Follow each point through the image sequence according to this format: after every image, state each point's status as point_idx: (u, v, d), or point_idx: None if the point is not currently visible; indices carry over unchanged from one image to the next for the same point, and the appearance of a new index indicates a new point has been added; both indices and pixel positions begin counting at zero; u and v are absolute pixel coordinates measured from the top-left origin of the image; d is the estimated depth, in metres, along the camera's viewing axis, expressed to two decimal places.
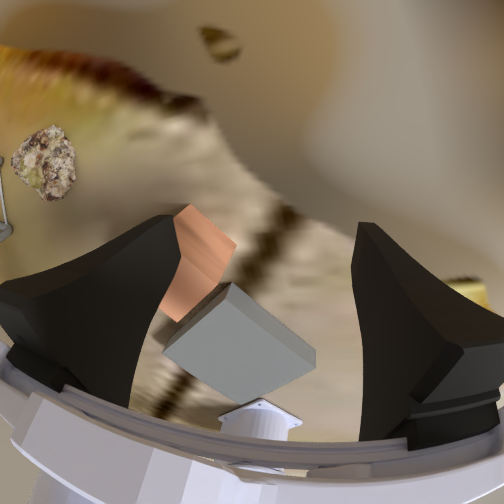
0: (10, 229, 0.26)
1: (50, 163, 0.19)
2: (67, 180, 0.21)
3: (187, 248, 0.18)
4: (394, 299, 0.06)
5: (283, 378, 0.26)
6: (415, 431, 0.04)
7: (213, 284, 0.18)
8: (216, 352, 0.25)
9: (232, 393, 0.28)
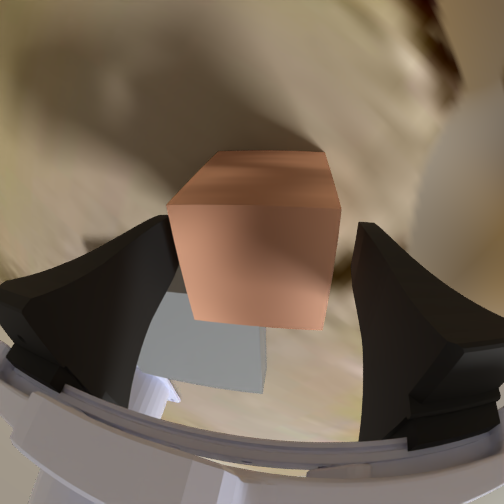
0: None
1: None
2: None
3: None
4: (394, 299, 0.06)
5: (220, 384, 0.21)
6: (415, 431, 0.04)
7: (318, 326, 0.10)
8: (173, 329, 0.17)
9: (144, 362, 0.21)
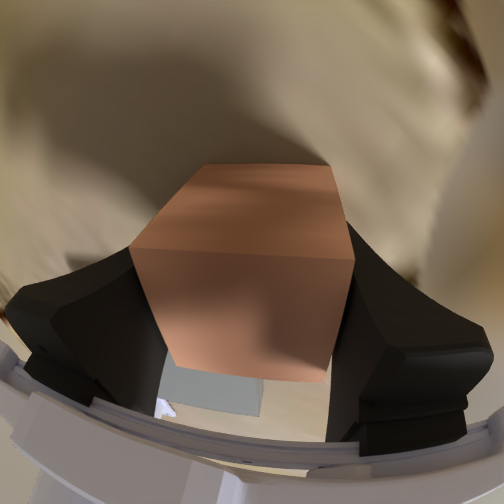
0: None
1: None
2: None
3: None
4: (353, 298, 0.06)
5: (214, 407, 0.19)
6: (366, 436, 0.04)
7: (318, 379, 0.08)
8: None
9: None
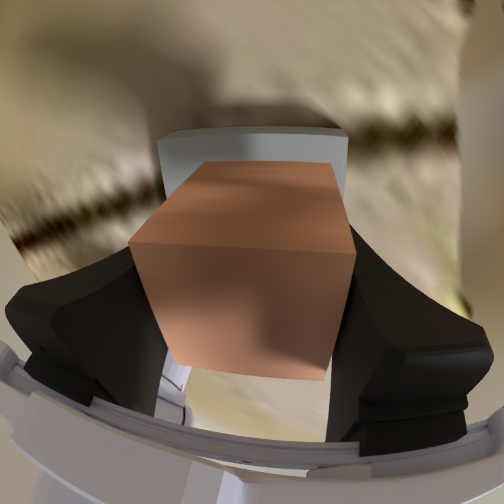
0: None
1: None
2: None
3: None
4: (353, 298, 0.06)
5: None
6: (366, 436, 0.04)
7: (319, 377, 0.08)
8: None
9: None
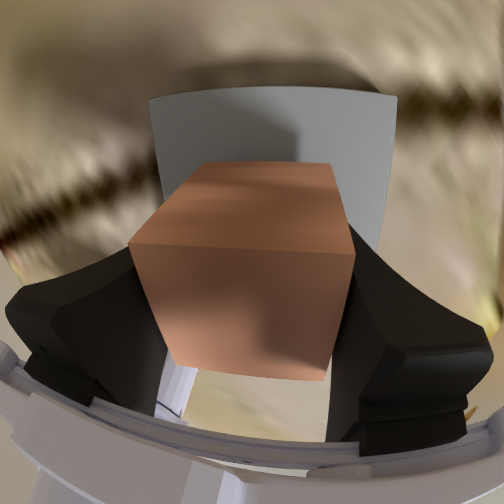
0: None
1: None
2: None
3: None
4: (352, 298, 0.06)
5: None
6: (366, 436, 0.04)
7: (319, 377, 0.08)
8: None
9: None
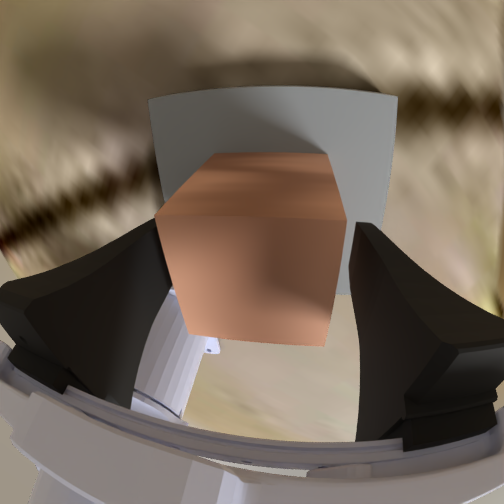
0: None
1: None
2: None
3: None
4: (390, 299, 0.06)
5: None
6: (410, 432, 0.04)
7: (320, 342, 0.09)
8: None
9: None
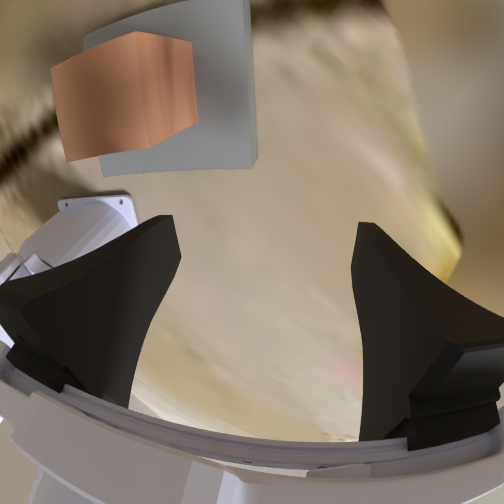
0: None
1: None
2: None
3: (151, 78, 0.09)
4: (394, 299, 0.06)
5: (195, 157, 0.16)
6: (415, 431, 0.04)
7: (145, 143, 0.10)
8: None
9: None
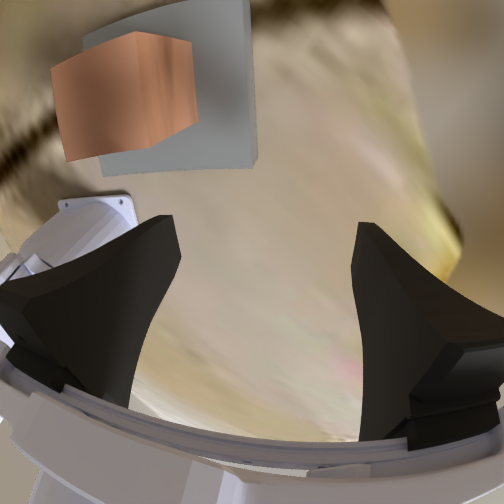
0: None
1: None
2: None
3: (151, 78, 0.09)
4: (394, 299, 0.06)
5: (195, 157, 0.16)
6: (415, 431, 0.04)
7: (145, 143, 0.10)
8: None
9: None
